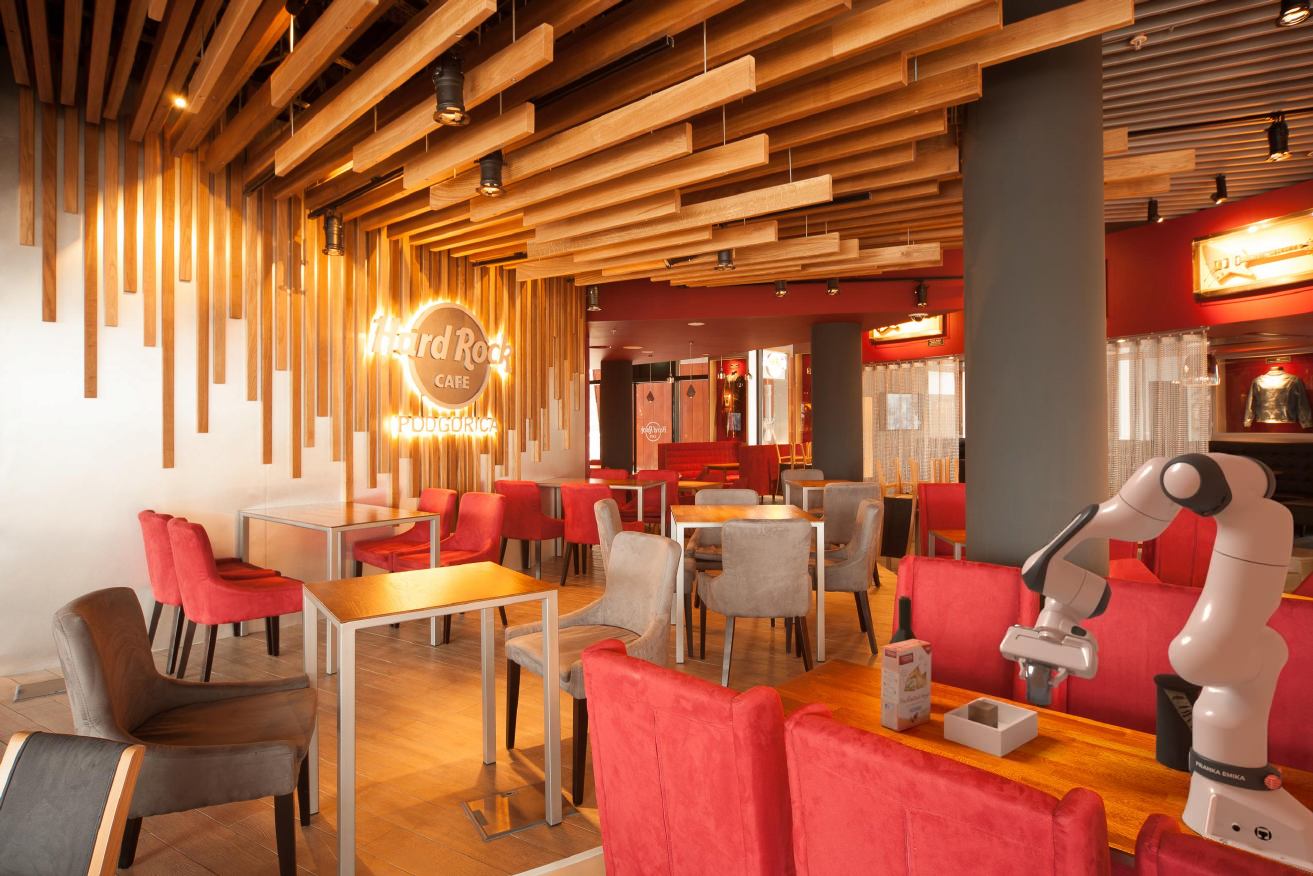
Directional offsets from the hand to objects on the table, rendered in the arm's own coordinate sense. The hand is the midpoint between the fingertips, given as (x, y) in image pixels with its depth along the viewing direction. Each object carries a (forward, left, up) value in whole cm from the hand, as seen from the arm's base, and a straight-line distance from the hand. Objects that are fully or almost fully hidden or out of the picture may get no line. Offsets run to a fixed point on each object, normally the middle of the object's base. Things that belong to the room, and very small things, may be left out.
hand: (1037, 682), depth 162 cm
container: (-20, -27, -19) cm, 38 cm away
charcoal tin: (0, -1, -4) cm, 4 cm away
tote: (+14, -8, -19) cm, 25 cm away
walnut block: (+14, -3, -18) cm, 23 cm away
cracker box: (+32, +1, -19) cm, 38 cm away
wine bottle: (+41, -13, -19) cm, 47 cm away
